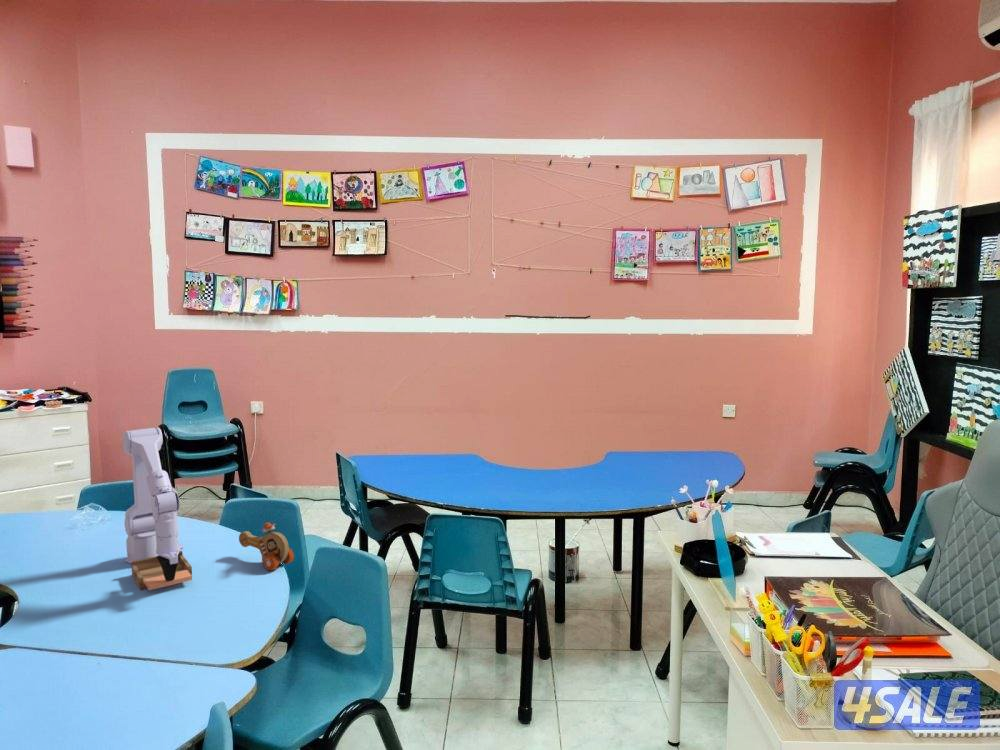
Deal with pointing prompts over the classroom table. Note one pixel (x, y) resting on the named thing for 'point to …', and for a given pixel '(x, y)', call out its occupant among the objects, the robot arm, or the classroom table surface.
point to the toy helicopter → (269, 546)
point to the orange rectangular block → (161, 582)
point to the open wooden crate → (154, 569)
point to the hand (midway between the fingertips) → (169, 579)
